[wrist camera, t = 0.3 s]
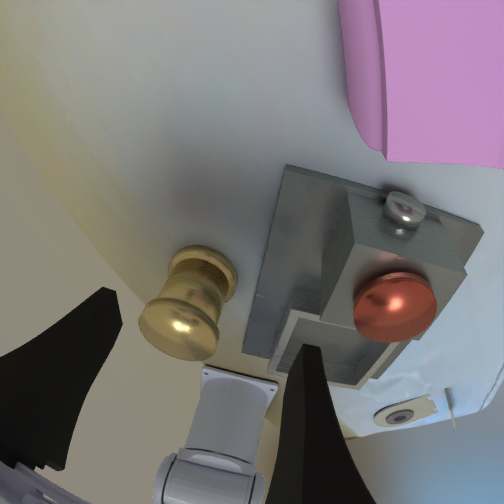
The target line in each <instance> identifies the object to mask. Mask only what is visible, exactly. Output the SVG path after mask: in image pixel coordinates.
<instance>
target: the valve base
mask: <svg viewBox="0 0 504 504" xmlns="http://www.w3.org/2000/svg"><path fill="white" fill-rule="evenodd" d="M483 234H484V231H483V230H482V228H481V227H480V225H477V224H475V223H472V222H470V221H467V220H465V219H462V218H460V217H457V216H454V215H452V214H449V213H446V212H444V211H441V210H438V209H435V208H432V207H430V206H427V205H424V204H421V203H420V202H419V201H417V200H416V199H414V198H413V197H411V196H409V195H407V194H404V193H401V192H395V191H394V192H390V193H388V192H385V191H381V190H378V189H375V188H372V187H368V186H365V185H362V184H358V183H355V182H351V181H348V180H344V179H341V178H337V177H333V176H330V175H326V174H322V173H319V172H315V171H311V170H307V169H303V168H299V167H295V166H291V165H286V167H285V171H284V176H283V180H282V184H281V189H280V193H279V198H278V202H277V206H276V211H275V215H274V219H273V223H272V228H271V232H270V236H269V241H268V245H267V249H266V253H265V258H264V262H263V266H262V270H261V274H260V279H259V283H258V287H257V291H256V295H255V299H254V304H253V308H252V312H251V316H250V320H249V324H248V328H247V332H246V336H245V340H244V345H243V349H242V353H245V354H249V355H254V356H258V357H262V358H266V359H269V363H268V368H267V373H269V374H274V375H278V376H283V377H288V372H289V370H290V368H291V366H292V364H293V362H294V360H295V358H296V356H297V354H298V352H299V350H300V348H301V346H302V344H303V343H305V344H310V345H314V346H319V347H320V348H321V352H322V358H323V364H324V369H325V374H326V378H327V383H328V385H331V386H337V387H343V388H349V389H356V390H359V389H360V388H361V387H362V386H363V385H364V384H365V383H366V382H367V381H368V380H369V378H373V379H378V378H379V377H380V376H381V375H382V374H383V373H384V372H385V371H386V370H387V368H388V367H389V366H390V365H391V364H392V363H393V362H394V360H395V359H396V358H397V357H398V356H399V355H400V353H401V352H402V351H403V350H404V349H405V347H406V346H407V345H408V344H409V343H410V341H411V340H412V339H413V340H420V338H421V337H422V336H423V335H424V334H425V332H426V331H427V330H428V329H429V327H430V326H431V325H432V323H433V322H434V321H435V320H436V318H437V317H438V316H439V314H440V313H441V312H442V310H443V309H444V308H445V306H446V305H447V303H448V302H449V301H450V299H451V298H452V296H453V295H454V294H455V292H456V291H457V289H458V288H459V286H460V285H461V283H462V282H463V280H464V279H465V277H466V276H467V273H466V271H465V269H464V266H465V264H466V263H467V261H468V259H469V258H470V256H471V255H472V253H473V251H474V250H475V248H476V246H477V244H478V243H479V241H480V239H481V237H482V236H483Z"/></svg>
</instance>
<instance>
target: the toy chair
mask: <svg viewBox="0 0 504 504" xmlns="http://www.w3.org/2000/svg"><path fill="white" fill-rule="evenodd" d="M338 8H339V15H340V23H341V31H342V39H343V48H344V58H345V69H346V81H347V95H348V106H349V110H350V112H351V115H352V118H353V120H354V123H355V125H356V127H357V130H358V132H359V134H360V136H361V137H362V139H363V140H364V142H365V143H366V144H367V145H368V146H369V147H370V148H372V149H374V150H377V151H381V152H382V153H383V155H384V157H385V159H386V161H389V162H416V163H443V164H463V165H474V166H484V167H493V168H500V169H504V0H338Z"/></svg>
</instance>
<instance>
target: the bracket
mask: <svg viewBox="0 0 504 504" xmlns="http://www.w3.org/2000/svg"><path fill="white" fill-rule="evenodd" d="M445 393H446V397H447V401H448V405H449V409H450V413H451V417H452V421H453V425H454V428H455V427H456V424H455V420H454V415H453V411H452V407H451V403H450V399H449V395H448V391H447V388H446V389H445ZM429 396H430V394H427V395H424V396H420V397H417V398H414V399H410V400H407V401H403V402H400V403H397V404H394V405H392V406H389V407H387V408H385V409H383V410H381V411H380V412H378V413H377V414H376V415H375V417H374V423H375V424H376V425H378V426H382V427H394V426H400V425H403V424H407V423H410V422H413V421H416V420H418V419H421V418H424V417H427V416H430V415H432V414H435V413H438V411H437V410H436V411H433V410H434V409H435V408H436V406H435V404H434V402H433V400H430V401H429V400H428V399H427V397H429Z"/></svg>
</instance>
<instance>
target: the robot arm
mask: <svg viewBox="0 0 504 504" xmlns="http://www.w3.org/2000/svg"><path fill="white" fill-rule="evenodd" d="M122 325H123V324H122V319H121V314H120V309H119V304H118V300H117V294H116V291H114V290H111V289H108V288H105V287H102V288H100V289H99V290H98V291H96V292H95V293H94V294H93V295H91V296H90V297H89V298H87V299H86V300H85V301H84V302H82V303H81V304H80V305H79V306H77V307H76V308H75V309H73V310H72V311H71V312H70V313H68V314H67V315H66V316H64V317H63V318H62V319H61V320H59V321H58V322H57V323H55V324H54V325H53V326H51V327H49V328H48V329H47V330H45V331H44V332H43V333H41V334H40V335H38V336H37V337H35V338H34V339H32V340H30V341H29V342H27V343H26V344H24V345H22V346H21V347H19V348H17V349H15V350H13V351H11V352H10V353H8V354H6V355H4V356H2V357H0V504H58V503H60V504H91V503H89V502H87V501H85V500H83V499H81V498H79V497H78V496H76V495H74V494H72V493H70V492H68V491H66V490H65V489H63V488H61V487H59V486H57V485H56V484H54V483H52V482H51V481H49V480H47V479H46V478H44V477H43V476H41V475H39V474H38V473H36V472H35V471H34V469H35V467H36V466H37V467H39V468H40V469H44V467H45V465H47V466H49V467H51V468H52V469H54V470H56V471H61V470H64V469H65V463H66V459H67V454H68V449H69V445H70V442H71V438H72V434H73V431H74V428H75V425H76V422H77V419H78V416H79V413H80V410H81V408H82V405H83V403H84V400H85V398H86V395H87V393H88V391H89V389H90V387H91V385H92V383H93V382H94V380H95V378H96V376H97V374H98V372H99V371H100V369H101V367H102V366H103V364H104V362H105V360H106V359H107V357H108V355H109V353H110V351H111V349H112V348H113V346H114V344H115V341H116V339H117V337H118V334H119V332H120V330H121V327H122ZM277 390H278V384H277V383H274V382H269V381H265V380H260V379H256V378H252V377H247V376H243V375H239V374H235V373H231V372H227V371H223V370H220V369H216V368H212V367H209V366H204V367H203V368H202V376H201V395H200V401H199V404H198V407H197V410H196V413H195V416H194V419H193V422H192V425H191V428H190V432H189V435H188V438H187V441H186V444H185V447H184V448H179V452H178V454H176V453H172V454H170V455H169V456H167V457H166V458H165V459H164V460H163V461H162V463H161V465H160V467H159V469H158V472H157V474H156V478H155V481H154V486H153V501H152V504H262V501H263V495H264V490H265V479H264V477H263V476H262V474H261V473H255V469H256V465H255V461H256V456H257V451H258V447H259V442H260V437H261V432H262V427H263V422H264V417H265V412H266V410H267V408H268V406H269V405H270V403H271V401H272V399H273V397H274V395H275V393H276V391H277ZM254 474H255V476H254ZM253 479H254V480H253ZM43 494H45V495H47V496H48V497H50V498H52V499H53V500H55V501H57V502H58V503H56V502H54V501H52V500H49V499H47V498H45V497H44V496H43ZM265 504H376V502H375V501H374V499H373V497H372V496H371V494H370V492H369V490H368V489H367V487H366V485H365V483H364V481H363V479H362V477H361V475H360V473H359V471H358V470H357V468H356V466H355V463H354V461H353V459H352V457H351V454H350V452H349V450H348V447H347V445H346V442H345V440H344V437H343V434H342V431H341V429H340V425H339V422H338V419H337V416H336V413H335V410H334V406H333V402H332V399H331V395H330V391H329V387H328V383H327V378H326V374H325V369H324V364H323V358H322V352H321V348H320V347H319V346H314V345H310V344H305V343H303V344H302V346H301V348H300V350H299V352H298V354H297V356H296V358H295V360H294V362H293V364H292V366H291V368H290V370H289V372H288V377H287V382H286V387H285V392H284V398H283V408H282V418H281V428H280V438H279V447H278V454H277V459H276V463H275V468H274V472H273V476H272V480H271V484H270V488H269V492H268V495H267V499H266V502H265Z"/></svg>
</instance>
